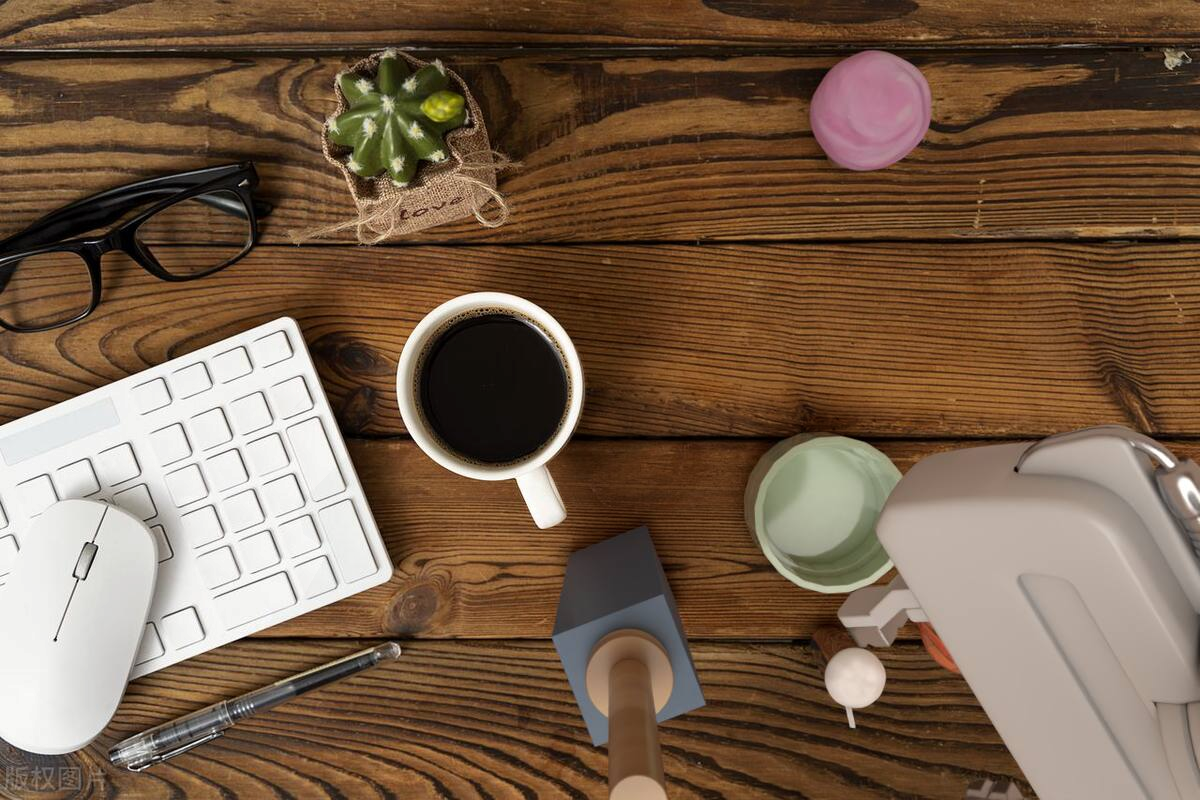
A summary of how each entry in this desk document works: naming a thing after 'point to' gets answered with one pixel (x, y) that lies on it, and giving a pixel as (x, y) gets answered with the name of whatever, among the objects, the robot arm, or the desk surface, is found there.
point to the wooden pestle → (631, 709)
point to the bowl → (821, 510)
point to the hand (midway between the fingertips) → (913, 714)
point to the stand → (621, 619)
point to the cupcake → (870, 111)
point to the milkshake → (847, 669)
